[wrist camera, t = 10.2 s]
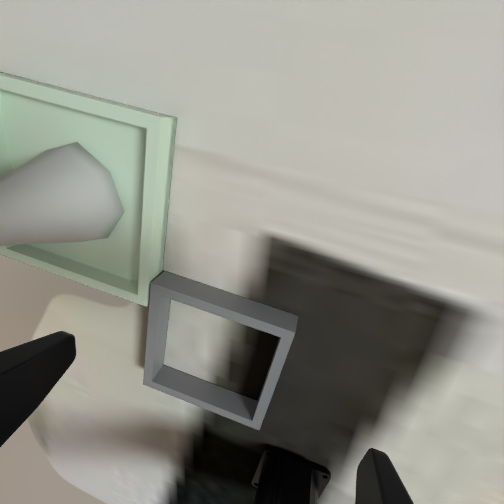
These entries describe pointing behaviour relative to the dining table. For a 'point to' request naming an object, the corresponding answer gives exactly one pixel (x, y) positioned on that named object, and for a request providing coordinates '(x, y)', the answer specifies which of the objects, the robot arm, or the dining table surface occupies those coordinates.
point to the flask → (58, 199)
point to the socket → (223, 306)
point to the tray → (111, 157)
